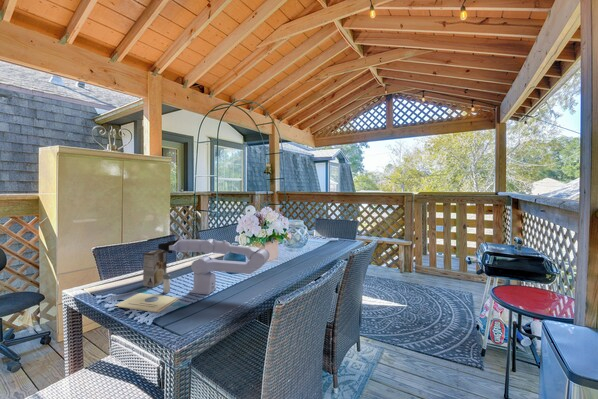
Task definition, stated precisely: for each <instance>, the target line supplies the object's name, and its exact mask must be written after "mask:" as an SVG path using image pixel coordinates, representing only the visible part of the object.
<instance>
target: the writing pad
mask: <svg viewBox="0 0 598 399" xmlns="http://www.w3.org/2000/svg"><path fill="white" fill-rule="evenodd" d="M179 300H181V297H177V296H168V295H161V294H151V293H142V292H139V293H136V294H134V295H132V296H130V297H128V298H127V299H125V300H122V301H120V302H118V303H116V304H114V305H113V307H114V306H118V307H117V308H124V309H131V310H138V311H146V312H151V313H152V312H154V313H160V312H162V311H163V310H165V309H167V308H168V307H169V306H171V305H173V304H174V303H176V302H177V301H179Z"/></svg>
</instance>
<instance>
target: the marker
mask: <svg viewBox="0 0 598 399" xmlns="http://www.w3.org/2000/svg"><path fill="white" fill-rule="evenodd" d="M171 278H172V277H171V274H170V273H166V274H165V275H163V279H164V280H163V283H162V286H163V290H162V292H163V294H169V293H170V292H171Z"/></svg>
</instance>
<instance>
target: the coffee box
mask: <svg viewBox="0 0 598 399" xmlns="http://www.w3.org/2000/svg"><path fill="white" fill-rule="evenodd" d="M167 253H168V252H167V251H164V250H161V249H153V250H150V251H147V252H144V253H143V259H142V260H143V262H142V265H143V266H142V270H143V272H142V274H143V276H142V277H143V278H142V285H143V287H148V288H155V287H157V286H160V285H163V280H164V279H163V275H165V274H167V267H168V266H167V265H168V264H167V258H168V257H167V256H168V254H167Z"/></svg>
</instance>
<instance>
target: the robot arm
mask: <svg viewBox="0 0 598 399" xmlns="http://www.w3.org/2000/svg"><path fill="white" fill-rule="evenodd" d="M157 250H164V251H167V253H168V254H173V251H175V252H179V253H182V252H184V253H190V252H191V253H200V252H201V253H204V254H207V255H203V256H202V257H201V258H198V259H195V260H194V261H192V263H191V265H190V268H191V271H192V272H193V289H191V290H190V291H189V293H190V294H199V295H200V294H201V295H209V294H211V293H212V292H214V291H215V290H216V289H217V288H216V278H217V277H216V273H214V272H222V273H234V274H235V273H236V274H246V275H247V274H248V275H250V274H252V273H254V272H255V271H256V272H257V271H258V270H260V269H261V268H262V267H263V266H264V265H265V264H266V263H267V261H268V260H269V259H270V252H269V250H268V249H266V248H261V247H256V246H247V245H246V246H244V245H233V244H231V243H230V242H228V241H227V240H225V239H223V240H217V239H215V238H214V239H213V238H208V239H185V238H184V237H183V236H179V238H178V239H177V240H176V239H175V240H170V241H168V242H164V243H163V242H162V243H159V244H158V246H157ZM210 253H213V254H219V255H228V254H230V253H232V254H235V255H236V254H238V255H243V256H246V258H247V260H248V261H239V260H237V261H236V260H225V259H224V260H223V259H216V258H214V257H211V256H210V255H208V254H210Z"/></svg>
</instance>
